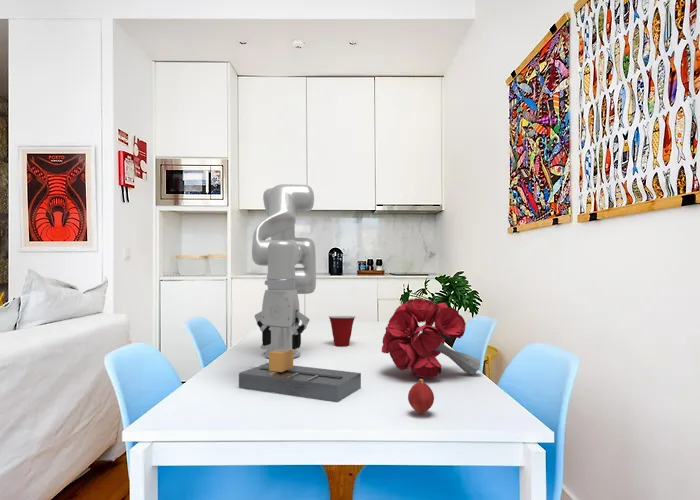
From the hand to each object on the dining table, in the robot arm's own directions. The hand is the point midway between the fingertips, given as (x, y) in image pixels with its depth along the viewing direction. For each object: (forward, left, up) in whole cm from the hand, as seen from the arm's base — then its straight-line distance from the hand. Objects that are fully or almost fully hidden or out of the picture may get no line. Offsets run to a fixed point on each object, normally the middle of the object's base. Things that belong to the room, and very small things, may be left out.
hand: (281, 346), depth 133 cm
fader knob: (0, -1, -6) cm, 6 cm away
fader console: (+6, -1, -11) cm, 12 cm away
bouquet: (+35, +28, -11) cm, 46 cm away
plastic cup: (-11, +60, -11) cm, 62 cm away
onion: (+42, -8, -11) cm, 44 cm away
